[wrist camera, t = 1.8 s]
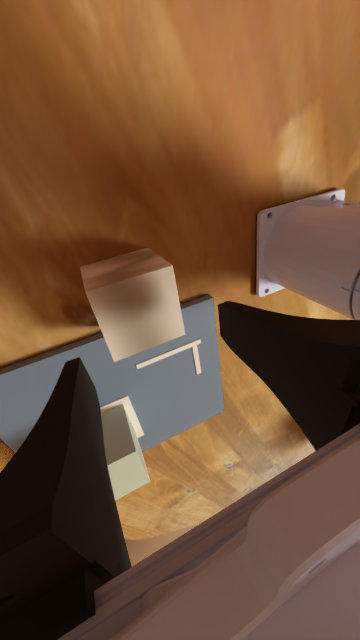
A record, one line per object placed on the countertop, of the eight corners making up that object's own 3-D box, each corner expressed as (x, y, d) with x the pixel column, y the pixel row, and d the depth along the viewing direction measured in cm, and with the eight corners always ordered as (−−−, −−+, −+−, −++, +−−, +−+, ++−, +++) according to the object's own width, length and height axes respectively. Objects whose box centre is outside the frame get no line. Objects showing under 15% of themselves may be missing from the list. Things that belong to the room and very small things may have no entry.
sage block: (122, 403, 23) (136, 451, 19) (136, 434, 25) (150, 481, 21) (68, 428, 21) (69, 484, 17) (88, 457, 24) (94, 511, 20)
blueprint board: (209, 294, 22) (213, 298, 21) (220, 406, 31) (224, 411, 30) (-42, 384, 17) (-47, 393, 16) (57, 487, 26) (57, 496, 25)
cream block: (148, 247, 18) (172, 265, 14) (161, 305, 21) (185, 334, 17) (79, 266, 17) (85, 292, 13) (103, 325, 19) (114, 362, 15)
